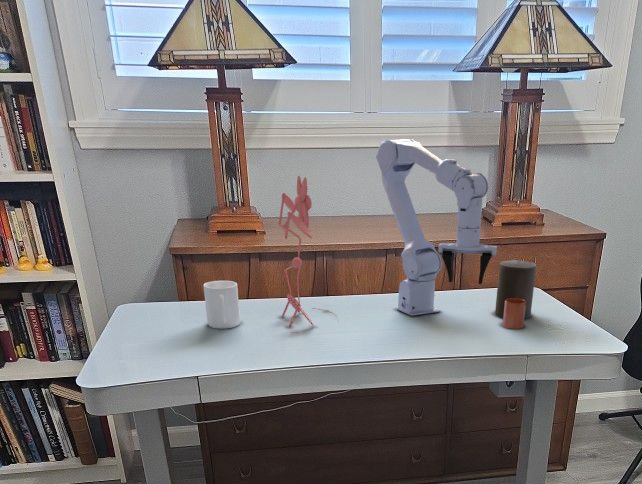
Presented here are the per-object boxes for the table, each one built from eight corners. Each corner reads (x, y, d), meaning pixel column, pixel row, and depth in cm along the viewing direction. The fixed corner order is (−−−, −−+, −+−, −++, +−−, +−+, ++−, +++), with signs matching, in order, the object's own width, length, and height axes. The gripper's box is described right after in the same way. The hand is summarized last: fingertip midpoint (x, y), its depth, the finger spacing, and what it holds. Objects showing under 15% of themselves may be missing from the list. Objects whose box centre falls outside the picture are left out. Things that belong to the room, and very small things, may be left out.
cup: (240, 318, 184) (236, 279, 180) (241, 332, 174) (237, 291, 169) (207, 320, 183) (203, 281, 178) (207, 334, 173) (202, 292, 168)
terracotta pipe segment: (527, 327, 182) (530, 302, 179) (511, 329, 180) (513, 304, 177) (514, 321, 186) (517, 297, 183) (498, 324, 184) (500, 299, 181)
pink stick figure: (292, 337, 172) (285, 183, 155) (272, 309, 193) (264, 171, 176) (352, 332, 176) (352, 182, 159) (326, 305, 197) (323, 170, 180)
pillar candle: (502, 320, 187) (508, 263, 180) (490, 310, 195) (495, 255, 188) (536, 318, 189) (543, 262, 182) (522, 309, 197) (529, 254, 190)
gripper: (499, 225, 176) (495, 280, 182) (442, 223, 179) (440, 277, 185) (496, 230, 170) (492, 286, 176) (437, 227, 173) (435, 283, 179)
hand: (465, 282), depth 180 cm, fingers open, 7 cm apart
